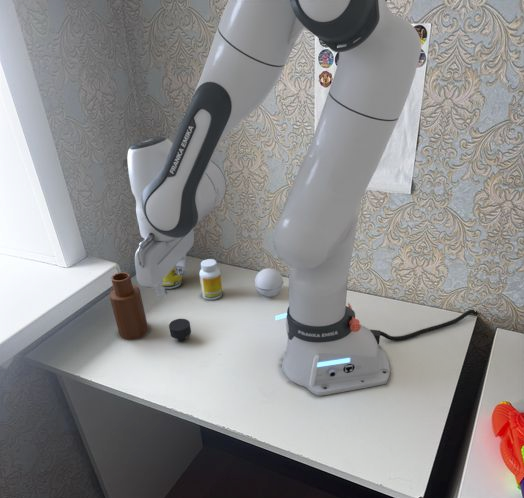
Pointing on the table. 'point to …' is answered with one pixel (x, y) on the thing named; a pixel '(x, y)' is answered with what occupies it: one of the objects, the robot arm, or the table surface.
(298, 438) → the table surface
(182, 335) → the bung
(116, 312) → the bottle
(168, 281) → the pill bottle
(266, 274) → the white rounded piece
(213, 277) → the supplement bottle
